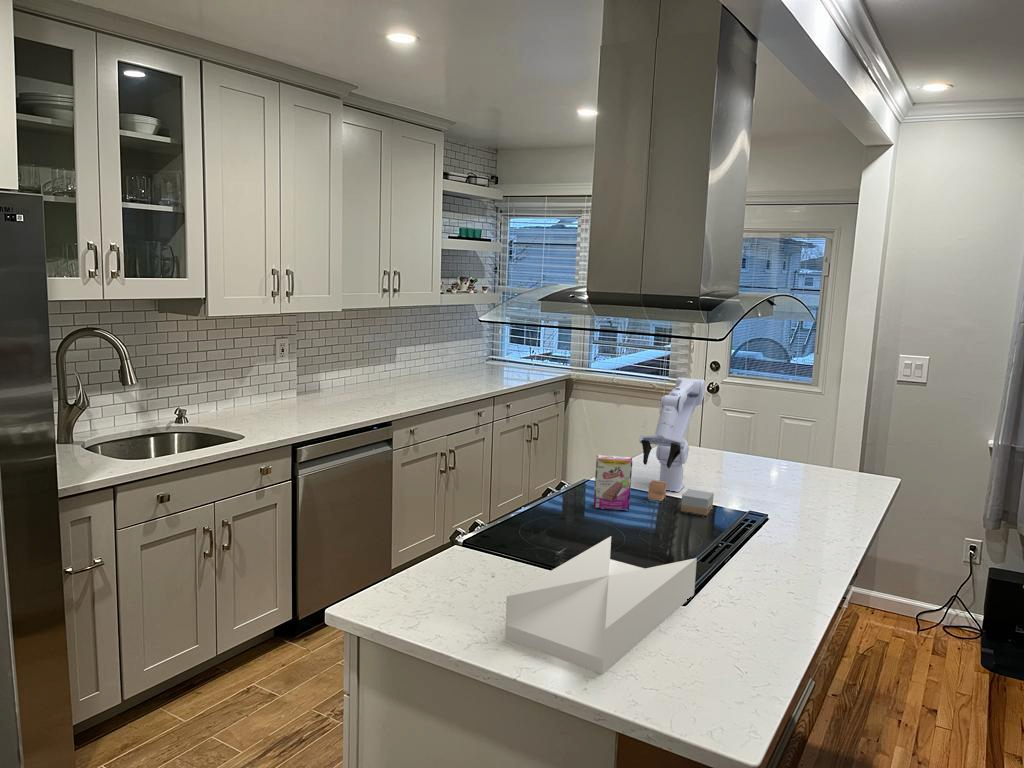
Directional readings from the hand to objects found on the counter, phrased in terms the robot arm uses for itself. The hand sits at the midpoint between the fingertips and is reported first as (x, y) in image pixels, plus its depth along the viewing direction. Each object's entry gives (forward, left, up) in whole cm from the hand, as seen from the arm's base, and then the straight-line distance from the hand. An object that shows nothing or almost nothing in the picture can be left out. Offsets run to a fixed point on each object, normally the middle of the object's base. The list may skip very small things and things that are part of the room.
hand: (656, 465), depth 247 cm
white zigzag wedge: (+85, +14, -13) cm, 87 cm away
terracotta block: (-3, 0, -13) cm, 13 cm away
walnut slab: (+1, +14, -13) cm, 19 cm away
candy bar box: (+13, -10, -13) cm, 21 cm away
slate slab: (+1, +14, -10) cm, 17 cm away
